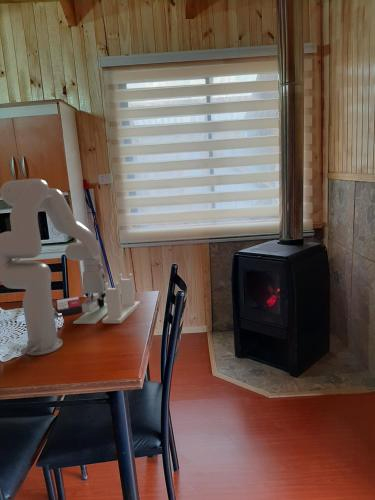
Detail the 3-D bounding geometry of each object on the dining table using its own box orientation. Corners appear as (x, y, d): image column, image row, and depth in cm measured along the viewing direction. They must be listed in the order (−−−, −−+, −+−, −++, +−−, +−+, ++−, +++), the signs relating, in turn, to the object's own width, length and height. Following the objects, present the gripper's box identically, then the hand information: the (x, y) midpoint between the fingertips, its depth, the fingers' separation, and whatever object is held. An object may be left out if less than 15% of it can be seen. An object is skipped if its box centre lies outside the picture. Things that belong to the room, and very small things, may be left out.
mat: (94, 324, 150) (94, 322, 150) (73, 323, 152) (72, 322, 152) (119, 303, 175) (119, 302, 175) (101, 303, 177) (100, 302, 177)
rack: (120, 323, 148) (116, 285, 146) (102, 323, 150) (97, 286, 147) (140, 304, 171) (137, 271, 169) (124, 304, 173) (121, 271, 170)
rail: (90, 312, 153) (89, 304, 152) (82, 312, 154) (81, 304, 153) (110, 297, 172) (109, 290, 172) (103, 297, 173) (102, 290, 172)
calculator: (56, 309, 162) (55, 299, 176) (57, 318, 163) (56, 307, 177) (81, 305, 166) (78, 295, 180) (82, 313, 167) (79, 303, 181)
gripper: (113, 265, 162) (117, 304, 165) (80, 266, 166) (85, 304, 169) (106, 269, 154) (110, 310, 158) (71, 270, 158) (76, 309, 162)
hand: (97, 306), depth 163 cm, fingers closed on rail, 3 cm apart
